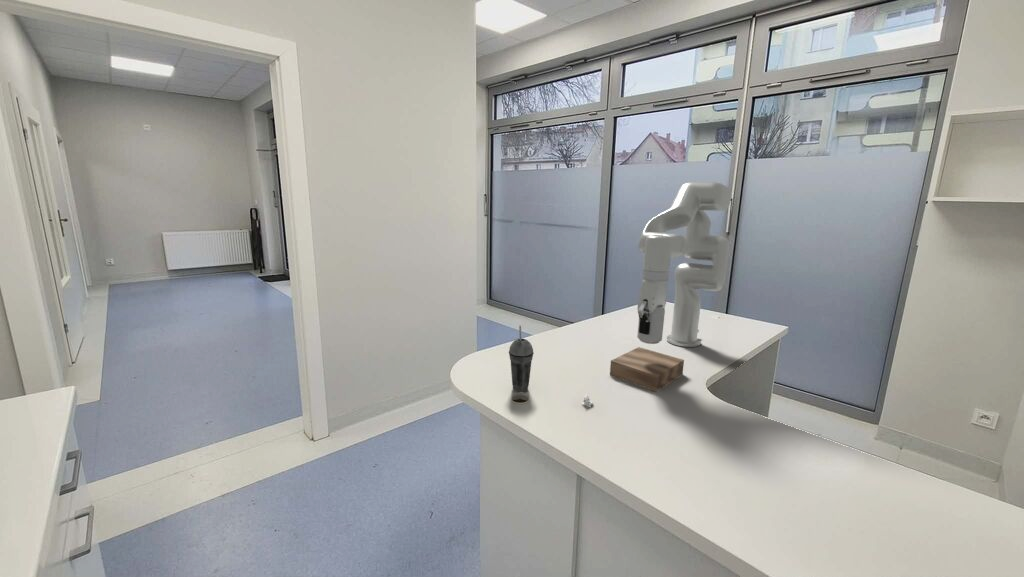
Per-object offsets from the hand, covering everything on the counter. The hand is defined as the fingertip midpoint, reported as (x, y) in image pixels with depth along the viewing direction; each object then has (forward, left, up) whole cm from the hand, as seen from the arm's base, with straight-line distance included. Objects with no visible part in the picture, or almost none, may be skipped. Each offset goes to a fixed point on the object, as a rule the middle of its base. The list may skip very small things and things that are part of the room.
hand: (650, 330), depth 133 cm
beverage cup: (+37, -21, -15) cm, 45 cm away
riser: (0, 0, -15) cm, 15 cm away
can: (0, 0, -4) cm, 4 cm away
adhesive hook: (+31, 0, -16) cm, 35 cm away
